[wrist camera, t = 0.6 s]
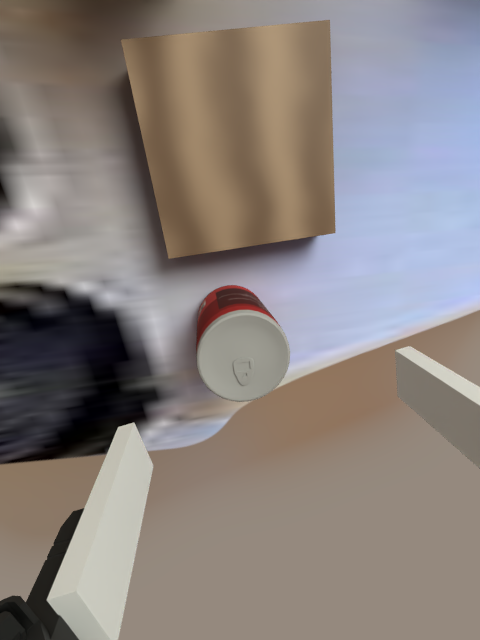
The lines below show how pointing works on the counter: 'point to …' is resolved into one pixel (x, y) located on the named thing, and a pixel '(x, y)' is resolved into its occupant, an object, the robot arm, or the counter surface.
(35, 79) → the counter surface
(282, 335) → the canned food
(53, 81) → the counter surface
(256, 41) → the walnut base
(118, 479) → the robot arm
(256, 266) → the counter surface
